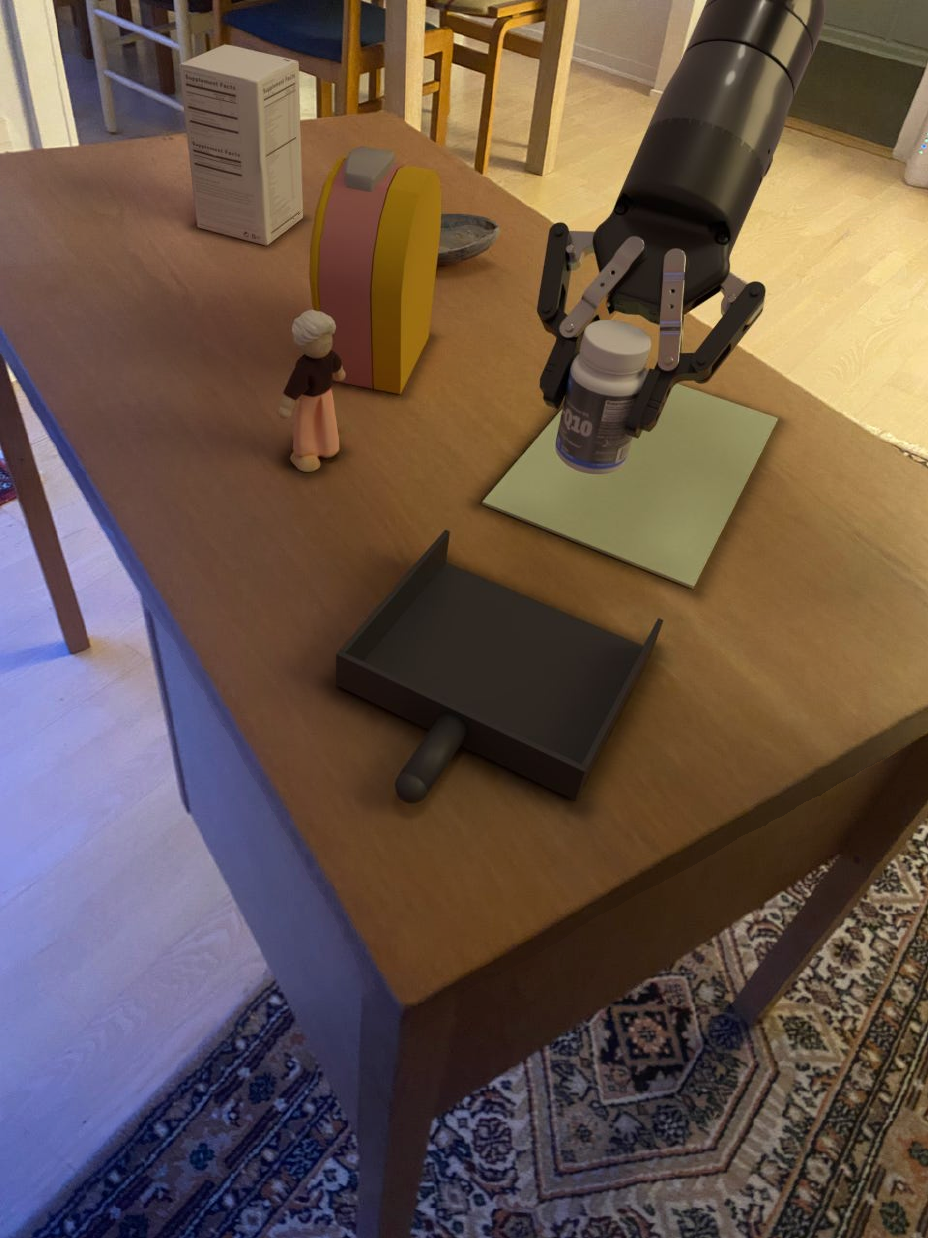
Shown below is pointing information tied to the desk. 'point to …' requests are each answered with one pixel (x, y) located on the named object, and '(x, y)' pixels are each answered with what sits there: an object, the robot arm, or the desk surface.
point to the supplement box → (244, 141)
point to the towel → (646, 486)
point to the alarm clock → (376, 264)
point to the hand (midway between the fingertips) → (591, 417)
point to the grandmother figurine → (313, 391)
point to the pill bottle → (602, 396)
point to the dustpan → (490, 676)
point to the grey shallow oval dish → (465, 237)
